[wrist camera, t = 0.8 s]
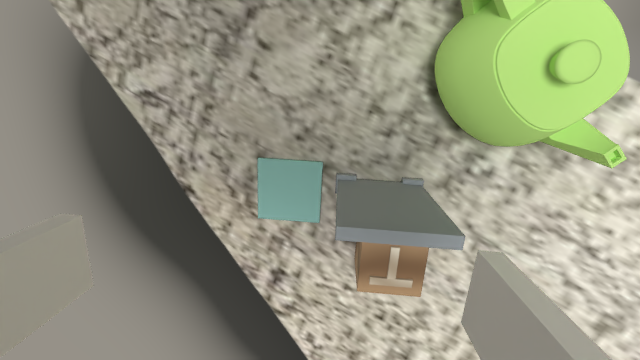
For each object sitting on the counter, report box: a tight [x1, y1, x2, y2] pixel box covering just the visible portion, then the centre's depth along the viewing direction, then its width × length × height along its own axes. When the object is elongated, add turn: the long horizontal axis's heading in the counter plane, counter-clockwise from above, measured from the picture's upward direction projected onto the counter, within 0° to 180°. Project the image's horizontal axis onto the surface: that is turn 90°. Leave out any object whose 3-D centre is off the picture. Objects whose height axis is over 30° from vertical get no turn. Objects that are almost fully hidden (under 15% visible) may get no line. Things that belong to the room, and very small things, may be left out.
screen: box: [335, 173, 465, 250], centre depth 30 cm, size 2×10×14 cm, turn 87°
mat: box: [258, 157, 323, 223], centre depth 38 cm, size 8×8×1 cm
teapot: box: [435, 0, 630, 168], centre depth 27 cm, size 20×13×13 cm
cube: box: [355, 242, 429, 297], centre depth 35 cm, size 7×7×7 cm
